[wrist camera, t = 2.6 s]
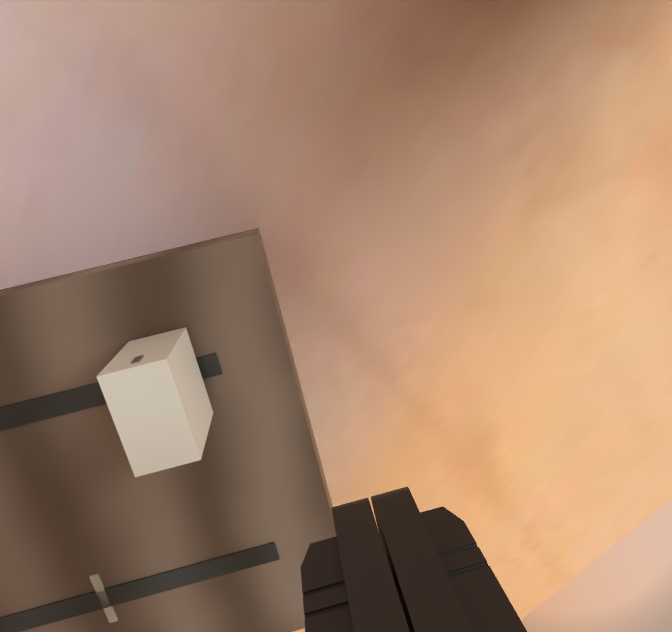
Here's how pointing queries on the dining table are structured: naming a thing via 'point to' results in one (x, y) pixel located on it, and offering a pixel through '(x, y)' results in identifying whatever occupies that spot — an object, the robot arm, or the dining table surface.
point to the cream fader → (158, 401)
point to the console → (162, 486)
